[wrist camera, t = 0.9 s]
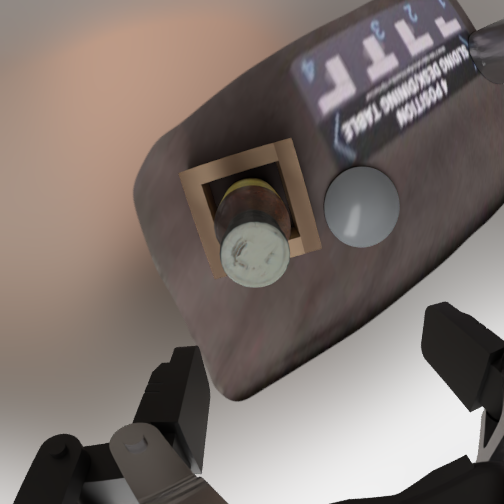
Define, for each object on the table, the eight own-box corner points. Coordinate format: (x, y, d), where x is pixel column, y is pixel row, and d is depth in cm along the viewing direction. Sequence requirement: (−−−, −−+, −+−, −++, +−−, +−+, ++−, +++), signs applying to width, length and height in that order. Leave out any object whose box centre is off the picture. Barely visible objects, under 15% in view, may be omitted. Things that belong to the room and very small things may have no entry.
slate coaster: (388, 159, 34) (390, 159, 34) (403, 234, 37) (405, 235, 36) (314, 177, 35) (315, 177, 35) (334, 255, 38) (335, 257, 37)
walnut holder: (286, 141, 34) (291, 137, 29) (313, 237, 37) (321, 248, 32) (188, 171, 35) (178, 173, 30) (219, 264, 38) (214, 279, 34)
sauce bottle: (214, 194, 36) (170, 229, 17) (260, 167, 35) (267, 169, 16) (243, 240, 37) (233, 320, 18) (288, 214, 37) (325, 269, 17)
